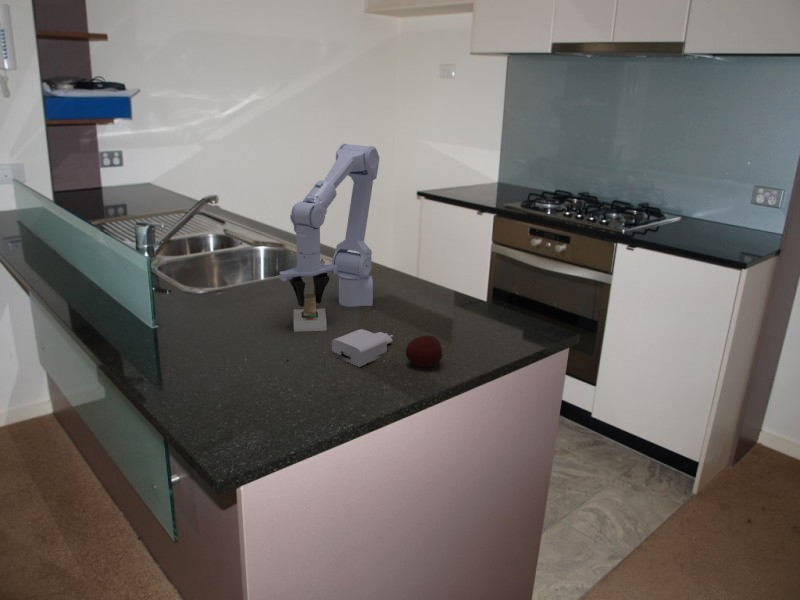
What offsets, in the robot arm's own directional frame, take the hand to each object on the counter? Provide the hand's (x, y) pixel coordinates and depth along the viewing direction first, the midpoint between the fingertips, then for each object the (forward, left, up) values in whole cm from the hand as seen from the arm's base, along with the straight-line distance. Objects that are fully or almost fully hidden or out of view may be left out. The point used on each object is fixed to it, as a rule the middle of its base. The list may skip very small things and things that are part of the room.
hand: (309, 303), depth 160 cm
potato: (-25, +23, -7) cm, 35 cm away
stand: (0, 0, -7) cm, 7 cm away
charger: (-13, +15, -7) cm, 21 cm away
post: (0, 0, -5) cm, 5 cm away
